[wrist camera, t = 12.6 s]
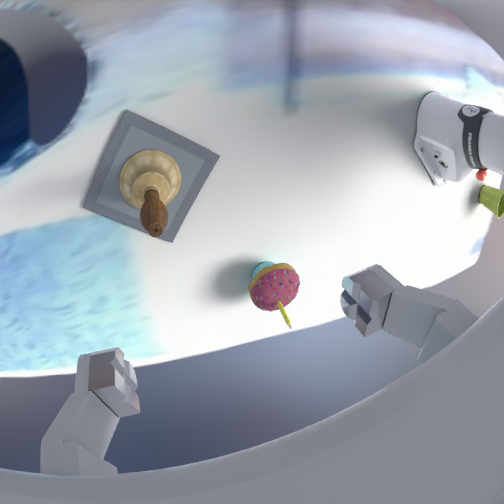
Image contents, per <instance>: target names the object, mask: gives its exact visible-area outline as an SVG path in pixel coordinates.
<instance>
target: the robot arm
mask: <svg viewBox="0 0 504 504" xmlns="http://www.w3.org/2000/svg"><path fill="white" fill-rule="evenodd" d="M414 149H415V151H416V152H417V154H418V156H419V157H420V159H421V161H422V162H423V164H424V166H425V167H426V169H427V171H428V173H429V174H430V176H431V178H432V180H433V182H434V183H435V185H436V186H442V185H443V184H445V183H446V182H447V181H448V180H450V181H453V182H459V181H461V180H463V179H464V178H465V177H466V176H467V175H468V174H469V173H470V172H471V171H472V170H473V169H479V171H478V172H477V173H476V177H477V178H478V180H480V181H483V180H484V178H485V176H486V175H487V173H486V170H487V169H490V170H492V171H495V172H497V173H499V174H501V175H503V176H504V116H502V115H499V114H495V113H493V111H491V110H489V109H486V108H483V107H479V106H475V105H466V104H464V103H461V102H458V101H456V100H453V99H451V98H448V97H446V96H444V95H442V94H440V93H438V92H430V93H429V94H427V95H426V96H425V97H424V99H423V100H422V102H421V105H420V107H419V111H418V117H417V133H416V137H415V140H414ZM342 287H343V288H344V289H345V290H344V291H343V293H342V294H341V301H340V302H341V306H342V309H343V311H344V313H345V315H346V316H347V317H348V318H350V319H353V320H355V326H356V328H357V329H358V330H359V331H360V332H361V334H362V335H363V336H364V337H366V336H368V335H370V334H372V333H375V332H377V331H379V330H381V329H382V330H384V331H386V332H388V333H390V334H393V335H394V336H397V337H399V338H401V339H403V340H405V341H407V342H410V343H412V344H414V345H416V346H418V347H421V348H422V350H421V352H420V354H419V356H418V360H417V361H418V362H419V363H420V364H421V365H420V366H418V367H417V368H415V369H414V370H412V371H411V372H409V373H408V374H406V375H404V376H403V377H401V378H400V379H398V380H397V381H395V382H393V383H392V384H390V385H388V386H387V387H385V388H383V389H382V390H380V391H378V392H377V393H375V394H373V395H371V396H369V397H368V398H366V399H364V400H362V401H360V402H358V403H357V404H355V405H353V406H351V407H349V408H347V409H345V410H343V411H341V412H339V413H337V414H335V415H333V416H331V417H328V418H326V419H324V420H322V421H320V422H318V423H315V424H313V425H311V426H308V427H306V428H304V429H302V430H299V431H296V432H294V433H291V434H289V435H286V436H283V437H281V438H278V439H275V440H273V441H270V442H267V443H264V444H261V445H258V446H255V447H252V448H249V449H246V450H242V451H239V452H235V453H232V454H229V455H225V456H222V457H217V458H213V459H209V460H205V461H201V462H196V463H192V464H187V465H182V466H176V467H171V468H165V469H158V470H151V471H144V472H135V473H124V474H118V473H117V468H116V467H115V466H113V465H112V464H110V463H108V462H106V461H105V460H103V458H104V455H105V453H106V450H107V448H108V445H109V443H110V440H111V438H112V435H113V433H114V431H115V428H116V426H117V423H118V421H119V418H118V417H124V416H129V415H133V414H138V413H140V407H139V397H138V396H137V395H136V393H135V390H136V388H137V387H138V386H137V379H136V375H135V371H134V369H133V367H132V365H131V364H130V362H128V361H126V360H124V354H123V352H122V351H121V350H120V348H117V347H116V348H112V349H107V350H102V351H97V352H92V353H88V354H83V355H80V356H79V358H78V364H77V373H76V383H75V393H73V394H71V395H70V397H69V398H68V400H67V401H66V403H65V404H64V406H63V407H62V409H61V410H60V412H59V414H58V415H57V417H56V418H55V420H54V421H53V423H52V424H51V426H50V428H49V429H48V431H47V433H46V434H45V436H44V437H43V439H42V441H41V474H38V473H28V472H20V471H13V470H7V469H1V468H0V504H504V296H503V297H502V298H501V299H500V300H499V301H498V302H497V303H495V304H494V306H493V307H491V308H490V309H489V310H488V311H487V312H486V313H485V314H484V315H483V316H482V317H480V318H478V317H477V316H476V315H474V313H472V312H471V311H470V310H469V309H468V308H467V307H466V306H464V305H463V304H462V303H461V302H460V301H459V300H456V299H453V298H450V297H446V296H443V295H439V294H436V293H432V292H429V291H425V290H422V289H418V288H415V287H411V286H408V285H407V286H403V285H402V284H401V283H400V282H399V281H398V280H397V279H395V278H394V277H393V276H392V275H391V274H390V273H388V272H387V271H386V270H385V269H384V268H383V267H381V266H380V265H377V264H376V265H373V266H371V267H368V268H366V269H363V270H361V271H358V272H356V273H353V274H351V275H348V276H346V277H344V278H343V280H342Z"/></svg>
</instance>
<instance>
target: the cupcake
mask: <svg viewBox="0 0 504 504" xmlns="http://www.w3.org/2000/svg"><path fill="white" fill-rule="evenodd" d="M252 279H253V280H252V281H251V283H250V284H249V292H250V297H251V299H252V301H253V303H254V304H255V305H256V306H257V307H258V308H260V309H262V310H264V311H265V310H268V311H270V312H271V310H272V311H273V310H276V309H278V310H279V309H280V311H281V313H282V315H283V317H284V319H285V321H286V324H287V325H289V327H290V329H291V326H290V324H291V322H290V320H289V318H288V316H287V314H286V312H285V310H284V308H283V307H285V306H286V305H287V304H289V303H290V302H291V301H292V300H293V299H294V298H295V296H296V294H297V291H298V288H299V285H300V282H299V277H298V274H297V273H296V271H295V270H294V268H292V267H291V266H290V265H289V264H286V263H279V264H275V263H273V262H264V263H261V264H259V265H258V266H257V267H256V268H255V269H254V271H253V274H252Z"/></svg>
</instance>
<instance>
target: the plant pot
mask: <svg viewBox="0 0 504 504" xmlns="http://www.w3.org/2000/svg"><path fill="white" fill-rule="evenodd" d="M479 202H480V203H481V204H483V205H484V206H485V207H487V208H488V209H489V210H491V211H492V212H493V213H494V214H495V215H496V216H497V218H498V219H499V218H501V217H502V215H503V214H504V190H499V189H496V188H493V187H490V186H486V185H485V186H483V187H482V189H481V191H480V198H479Z"/></svg>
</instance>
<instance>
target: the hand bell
mask: <svg viewBox="0 0 504 504" xmlns="http://www.w3.org/2000/svg"><path fill="white" fill-rule="evenodd" d="M180 185H181V172H180V169H179V166H178V164H177V162H176V161H175V160H174V159H173V157H171V156H170V155H169V154H167V153H166V152H163V151H161V150H156V149H148V150H143V151H140V152H137V153H136V154H134V155H133V156H131V157H130V158H129V159H128V160H127V161H126V163H125V164H124V166H123V167H122V169H121V172H120V178H119V186H120V190H121V193H122V195H123V197H124V198H125V200H126V201H127V202H128V203H129V204H131V205H132V206H133V207H135V208H138V209H141V211H140V221H141V224H142V226H143V228H144V229H145V230H146V231H147V232H148V233H149V234H150V235H151V236H152V237H159V236H161V235H162V234H163V231H164V229H165V227H166V225H167V223H168V211H167V208H166V205H167V204H169V203H170V202H171V201H172V200H173V199H174V198H175V196H176V195H177V193H178V191H179V189H180Z"/></svg>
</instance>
